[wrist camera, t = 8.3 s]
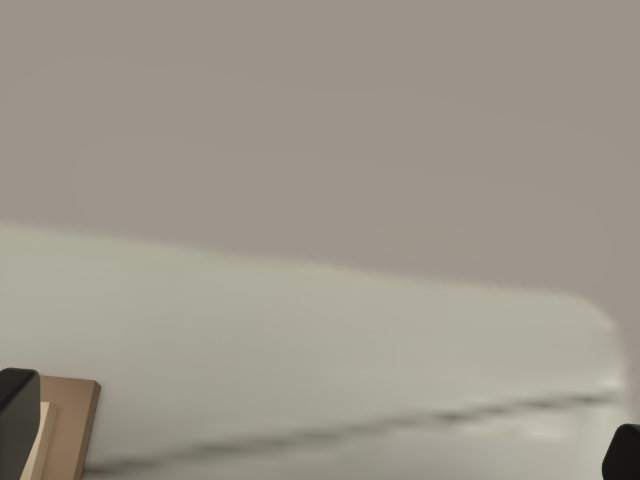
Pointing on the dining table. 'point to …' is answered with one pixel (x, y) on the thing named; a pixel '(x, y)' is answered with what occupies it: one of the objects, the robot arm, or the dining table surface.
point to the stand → (62, 429)
